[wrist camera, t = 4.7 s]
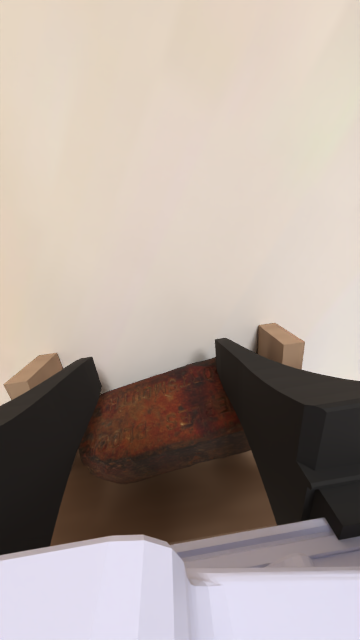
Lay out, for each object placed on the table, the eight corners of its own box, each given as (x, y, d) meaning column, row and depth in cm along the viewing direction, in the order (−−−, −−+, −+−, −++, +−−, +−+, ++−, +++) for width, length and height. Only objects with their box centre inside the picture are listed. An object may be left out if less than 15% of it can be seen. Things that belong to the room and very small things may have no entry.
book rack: (269, 415, 16) (340, 526, 10) (77, 445, 16) (14, 583, 9) (275, 322, 13) (382, 392, 7) (38, 355, 13) (-95, 464, 6)
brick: (239, 343, 12) (282, 413, 9) (244, 377, 15) (279, 443, 11) (88, 393, 13) (67, 480, 9) (117, 418, 15) (109, 495, 11)
